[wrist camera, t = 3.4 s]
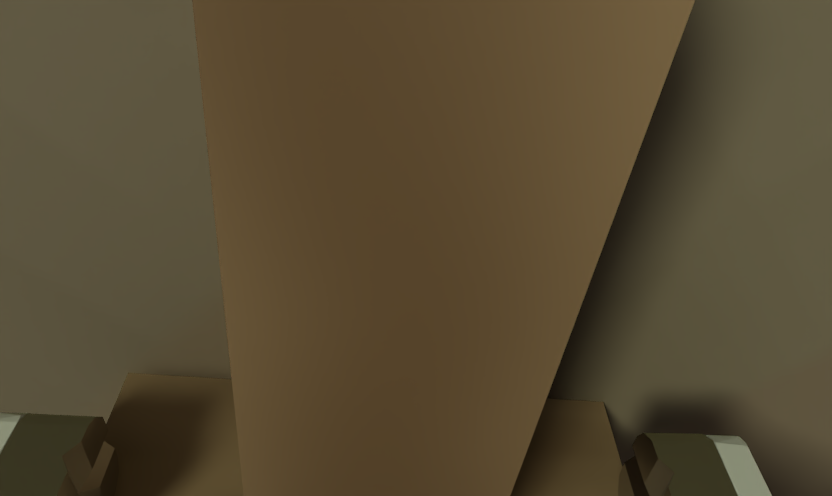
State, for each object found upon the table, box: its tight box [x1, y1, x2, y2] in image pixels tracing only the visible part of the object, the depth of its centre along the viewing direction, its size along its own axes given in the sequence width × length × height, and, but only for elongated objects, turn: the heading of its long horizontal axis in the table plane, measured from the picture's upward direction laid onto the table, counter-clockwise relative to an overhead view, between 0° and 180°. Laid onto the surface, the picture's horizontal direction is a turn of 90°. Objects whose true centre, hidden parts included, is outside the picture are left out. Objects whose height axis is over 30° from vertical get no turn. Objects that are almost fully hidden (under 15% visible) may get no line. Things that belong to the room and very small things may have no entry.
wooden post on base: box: [104, 0, 695, 496], centre depth 7 cm, size 9×11×5 cm
